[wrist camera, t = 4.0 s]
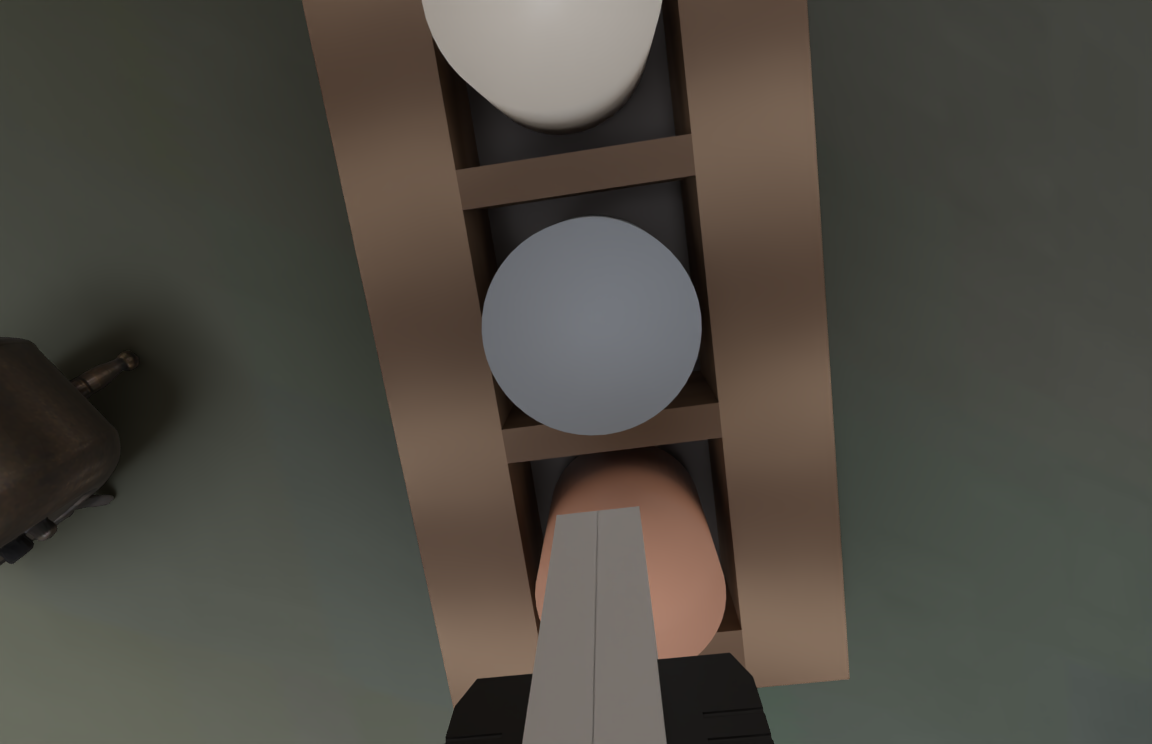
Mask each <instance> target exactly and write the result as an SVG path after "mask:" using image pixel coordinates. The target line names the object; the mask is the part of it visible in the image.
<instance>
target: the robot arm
mask: <svg viewBox="0 0 1152 744" xmlns="http://www.w3.org/2000/svg"><path fill="white" fill-rule="evenodd" d="M446 744H774V742H773V740H772V738H771V732H770V729H769V726H768V723H767V720H766V716H765V713H764V712H763V707H762V703H761V700H760V697H759V694H758V691H757V687H756V684H755V681H754V678H753V676H752V675H751V674H750V673H749V672H748V671H747V670H746V669H745V668H744V667H743V666H742V665H741V664H740V662H739V661H738V660H737V659H736V658H735V657H734V656H733V655H732V654H731V653H719V654H709V655H698V656H687V657H677V658H666V659H658V652H657V644H656V636H655V628H654V620H653V612H652V604H651V596H650V588H649V580H648V572H647V564H646V556H645V548H644V540H643V532H642V524H641V516H640V508H639V506H636V507H627V508H618V509H609V510H599V511H590V512H581V513H572V514H563V515H557V516H556V523H555V530H554V536H553V543H552V550H551V556H550V563H549V569H548V576H547V583H546V589H545V596H544V603H543V609H542V616H541V622H540V629H539V636H538V642H537V649H536V655H535V662H534V669H533V674H523V675H512V676H501V677H490V678H480V679H476V681H475V682H474V683H473V684H472V686H471V687H470V688H469V689H468V691H467V692H466V693H465V694H464V696H463V697H462V698H461V699H460V700H459V702H458V703H457V704H456V705H455V707H454V711H453V714H452V718H451V721H450V724H449V728H448V731H447V734H446Z"/></svg>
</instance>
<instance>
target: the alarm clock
mask: <svg viewBox="0 0 1152 744" xmlns="http://www.w3.org/2000/svg"><path fill="white" fill-rule="evenodd" d="M138 364H139V358H138V356H136V355H135V354H133V353H132V352H131V351H123V352H122V353H121V354H120V355H119V356H118V357H117V358H116V359H115V360H112V361H110V362H107V363H104V364H100V365H97V366H96V367H94V368H92V369H90V370H88V371H86V372H85V373H83V374H81V375H79V376H78V377H76V378H75V379H73V380H71V381H69V380H68V379H67V378H66V377H65V376H64V375H63V374H62V373H61V372H60V371H59V370H58V369H57V368H56V367H55V366H54V365H53V364H52V363H51V362H50V361H49V360H48V359H47V358H46V357H45V356H44V354H43V353H42V352H41V351H40V350H39V349H38V348H37V346H36V345H35V344H34V343H32V342H31V341H29V340H25V339H19V338H11V337H0V565H1V564H3V563H4V562H5V561H7V562H8V563H10V564H14V563H15V562H16V561H17V560H18V559H20V558H21V557H23V556H24V555H25V554H26V553H27V552H29V551H30V550H31V549H32V548H33V545H34V543H33V540H35V539H37V540H38V541H44V540H46V539H48V538H51V537H52V536H53V535H54V534H55V533H56V531H57V529H58V528H57V525H58V524H59V523H60V522H62V521H63V520H64V519H66V518H67V517H70V516H71V515H72V514H73V512H74V510H76V509H80V508H84V507H96V506H100V505H106V504H108V503H110V502H111V501H112V500H113V499H114V497H113V496H112V495H93V493H95V492H96V491H97V490H98V489H99V488H100V487H101V486H102V485H103V484H104V483H105V482H106V481H107V480H108V478H109V477H110V476H111V475H112V473H113V471H114V469H115V467H116V465H117V463H118V461H119V458H120V453H121V447H120V439H119V434H118V431H117V430H116V429H115V428H114V427H113V426H112V425H111V424H110V423H109V422H108V421H107V420H106V419H105V418H104V417H103V415H102V414H101V413H100V412H99V411H98V410H97V409H96V408H95V407H94V406H93V405H92V404H91V403H90V402H89V401H88V400H87V398H89V397H90V396H91V395H92V394H94V393H96V392H97V391H99V390H100V389H102V388H104V387H105V386H106V385H107V384H109V383H110V382H111V381H112V380H113V379H114V378H115V377H116V376H117V375H118V374H119V373H120V372H121V371H123V370H126V371H130V370H133V369H134V368H136V367H137V366H138Z"/></svg>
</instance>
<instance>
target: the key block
mask: <svg viewBox="0 0 1152 744" xmlns="http://www.w3.org/2000/svg"><path fill="white" fill-rule="evenodd" d="M302 4H303V8H304V13H305V18H306V22H307V27H308V31H309V36H310V41H311V45H312V50H313V55H314V59H315V64H316V69H317V73H318V78H319V83H320V87H321V92H322V97H323V101H324V106H325V111H326V115H327V120H328V125H329V129H330V134H331V139H332V143H333V148H334V153H335V157H336V162H337V167H338V171H339V176H340V181H341V185H342V190H343V195H344V199H345V204H346V209H347V213H348V218H349V223H350V227H351V232H352V237H353V241H354V246H355V251H356V255H357V260H358V265H359V269H360V274H361V279H362V283H363V288H364V293H365V297H366V302H367V307H368V311H369V316H370V321H371V325H372V330H373V335H374V339H375V344H376V349H377V353H378V358H379V363H380V367H381V372H382V377H383V381H384V386H385V391H386V395H387V400H388V405H389V409H390V414H391V418H392V423H393V428H394V432H395V437H396V442H397V446H398V451H399V456H400V460H401V465H402V470H403V474H404V479H405V484H406V488H407V493H408V498H409V502H410V507H411V512H412V516H413V521H414V526H415V530H416V535H417V540H418V544H419V549H420V554H421V558H422V563H423V568H424V572H425V577H426V582H427V586H428V591H429V596H430V600H431V605H432V610H433V614H434V619H435V624H436V628H437V633H438V638H439V642H440V647H441V652H442V656H443V661H444V666H445V670H446V675H447V680H448V684H449V689H450V694H451V698H452V703H453V708H454V707H455V705H456V704H457V703H458V702H459V700H460V699H461V698H462V697H463V696H464V694H465V693H466V692H467V691H468V689H469V688H470V687H471V686H472V684H473V683H474V682H475V681H476V679H480V678H490V677H501V676H512V675H523V674H533V669H534V662H535V655H536V649H537V642H538V636H539V629H540V622H541V621H540V619H539V615H538V611H537V607H536V599H535V588H536V580H537V575H538V569H539V564H540V559H541V554H542V548H543V543H544V538H545V532H546V527H547V522H548V517H549V511H550V506H551V501H552V495H553V492H554V489H555V486H556V483H557V481H558V479H559V477H560V476H561V474H562V473H563V471H564V470H565V468H566V467H567V466H568V465H569V464H570V463H571V462H572V461H573V460H574V459H576V458H577V457H578V456H579V455H582V454H590V453H599V452H607V451H615V450H623V449H632V448H640V447H648V446H655V447H657V448H659V449H661V450H664V451H665V452H667V453H668V454H670V455H671V456H673V457H674V458H675V459H676V460H678V461H679V462H680V463H681V464H682V466H683V467H684V468H685V469H686V470H687V472H688V473H689V475H690V476H691V478H692V480H693V482H694V484H695V486H696V489H697V492H698V495H699V498H700V501H701V504H702V508H703V511H704V514H705V517H706V520H707V524H708V527H709V530H710V533H711V536H712V540H713V543H714V546H715V549H716V552H717V555H718V559H719V562H720V565H721V568H722V571H723V575H724V579H725V585H726V604H725V610H724V614H723V618H722V621H721V623H720V626H719V628H718V630H717V632H716V634H715V635H714V637H713V639H712V640H711V641H710V643H709V644H708V645H707V646H706V648H705V649H704V650H703V651H702V652H701V653H700V654H699V655H709V654H719V653H731V654H732V655H733V656H734V657H735V658H736V659H737V660H738V661H739V662H740V664H741V665H742V666H743V667H744V668H745V669H746V670H747V671H748V672H749V673H750V674H751V675H752V676H753V678H754V681H755V684H756V687H757V688H759V687H770V686H781V685H791V684H802V683H813V682H823V681H834V680H845V679H850V678H849V662H848V646H847V630H846V614H845V598H844V582H843V566H842V550H841V535H840V519H839V503H838V487H837V471H836V455H835V439H834V423H833V407H832V391H831V375H830V359H829V343H828V327H827V311H826V295H825V279H824V263H823V247H822V231H821V215H820V199H819V184H818V168H817V152H816V136H815V120H814V104H813V88H812V72H811V56H810V40H809V24H808V8H807V0H662V5H661V10H660V14H659V18H658V22H657V25H656V29H655V33H654V36H653V40H652V44H651V47H650V51H649V55H648V58H647V62H646V65H645V68H644V71H643V74H642V77H641V79H640V81H639V83H638V85H637V87H636V89H635V90H634V92H633V94H632V95H631V97H630V98H629V99H628V101H627V102H626V103H625V104H624V105H623V107H622V108H621V109H619V110H618V111H617V112H616V113H615V114H614V115H613V116H612V117H610V118H609V119H607V120H606V121H605V122H603V123H601V124H599V125H597V126H595V127H594V128H591V129H588V130H586V131H583V132H578V133H574V134H566V135H551V134H544V133H539V132H535V131H533V130H530V129H527V128H525V127H523V126H521V125H519V124H517V123H515V122H514V121H512V120H511V119H509V118H508V117H506V116H505V115H504V114H503V113H502V112H501V111H499V110H498V109H497V108H496V107H495V106H494V105H492V104H491V103H490V102H489V101H488V100H487V99H486V98H484V97H483V96H482V95H481V94H480V93H479V92H477V91H476V90H475V89H474V88H473V87H472V86H471V85H469V84H468V83H467V82H466V81H465V80H464V79H463V78H462V77H460V76H459V74H458V73H457V72H456V71H455V70H454V69H453V68H452V66H451V65H450V64H449V63H448V61H447V60H446V58H445V57H444V55H443V54H442V53H441V51H440V50H439V48H438V46H437V44H436V42H435V40H434V38H433V36H432V34H431V31H430V28H429V25H428V23H427V20H426V17H425V12H424V8H423V4H422V0H302ZM586 215H606V216H611V217H617V218H620V219H623V220H626V221H628V222H630V223H632V224H634V225H636V226H638V227H639V228H641V229H642V230H644V231H645V232H647V233H648V234H650V235H651V236H653V237H654V238H655V239H657V240H658V241H660V242H661V243H662V244H663V245H664V246H665V247H666V248H667V249H669V250H670V251H671V252H672V254H673V255H674V256H675V257H676V258H677V259H678V261H679V262H680V263H681V265H682V266H683V268H684V269H685V271H686V272H687V274H688V276H689V278H690V280H691V282H692V284H693V286H694V288H695V292H696V295H697V298H698V301H699V306H700V312H701V325H702V332H701V343H700V348H699V352H698V357H697V360H696V363H695V365H694V368H693V370H692V373H691V375H690V376H689V378H688V380H687V382H686V384H685V385H684V387H683V388H682V389H681V391H680V392H679V394H678V395H677V396H676V397H675V398H674V399H673V400H672V401H671V403H670V404H669V405H668V406H667V407H665V408H664V409H663V410H662V411H661V412H659V413H658V414H657V415H655V416H654V417H652V418H651V419H649V420H647V421H646V422H644V423H642V424H640V425H637V426H635V427H633V428H630V429H627V430H624V431H621V432H617V433H612V434H606V435H578V434H572V433H567V432H563V431H560V430H557V429H554V428H551V427H549V426H546V425H544V424H542V423H540V422H538V421H536V420H535V419H533V418H532V417H530V416H529V415H527V414H526V413H524V412H523V411H522V410H521V409H520V408H518V407H517V406H516V405H515V404H514V403H513V402H512V401H511V400H510V399H509V398H508V396H507V395H506V394H505V393H504V391H503V390H502V389H501V387H500V386H499V384H498V383H497V381H496V379H495V377H494V375H493V374H492V372H491V369H490V366H489V364H488V361H487V359H486V354H485V350H484V346H483V339H482V314H483V307H484V302H485V299H486V295H487V292H488V289H489V287H490V284H491V282H492V280H493V278H494V276H495V274H496V272H497V271H498V269H499V268H500V266H501V264H502V263H503V262H504V261H505V259H506V258H507V257H508V256H509V255H510V253H511V252H512V251H513V250H514V249H516V248H517V247H518V246H519V245H520V244H521V243H522V242H524V241H525V240H526V239H528V238H529V237H531V236H532V235H533V234H535V233H537V232H539V231H541V230H543V229H545V228H547V227H550V226H552V225H555V224H557V223H560V222H563V221H566V220H568V219H571V218H575V217H579V216H586ZM697 656H698V655H697Z"/></svg>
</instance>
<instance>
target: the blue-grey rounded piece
mask: <svg viewBox="0 0 1152 744" xmlns="http://www.w3.org/2000/svg"><path fill="white" fill-rule="evenodd" d="M701 332H702V325H701V312H700V306H699V301H698V298H697V295H696V292H695V288H694V286H693V284H692V282H691V280H690V278H689V276H688V274H687V272H686V271H685V269H684V268H683V266H682V265H681V263H680V262H679V261H678V259H677V258H676V257H675V256H674V255H673V254H672V252H671V251H670V250H669V249H667V248H666V247H665V246H664V245H663V244H662V243H661V242H660V241H658V240H657V239H655V238H654V237H653V236H651V235H650V234H648V233H647V232H645V231H644V230H642V229H641V228H639V227H638V226H636V225H634V224H632V223H630V222H628V221H626V220H623V219H620V218H617V217H611V216H606V215H586V216H579V217H575V218H571V219H568V220H566V221H563V222H560V223H557V224H555V225H552V226H550V227H547V228H545V229H543V230H541V231H539V232H537V233H535V234H533V235H532V236H531V237H529V238H528V239H526V240H525V241H524V242H522V243H521V244H520V245H519V246H518V247H517V248H516V249H514V250H513V251H512V252H511V253H510V255H509V256H508V257H507V258H506V259H505V261H504V262H503V263H502V264H501V266H500V268H499V269H498V271H497V272H496V274H495V276H494V278H493V280H492V282H491V284H490V287H489V289H488V292H487V295H486V299H485V302H484V307H483V314H482V339H483V346H484V350H485V354H486V359H487V361H488V364H489V366H490V369H491V372H492V374H493V375H494V377H495V379H496V381H497V383H498V384H499V386H500V387H501V389H502V390H503V391H504V393H505V394H506V395H507V396H508V398H509V399H510V400H511V401H512V402H513V403H514V404H515V405H516V406H517V407H518V408H520V409H521V410H522V411H523V412H524V413H526V414H527V415H529V416H530V417H532V418H533V419H535V420H536V421H538V422H540V423H542V424H544V425H546V426H549V427H551V428H554V429H557V430H560V431H563V432H567V433H572V434H578V435H606V434H612V433H617V432H621V431H624V430H627V429H630V428H633V427H635V426H637V425H640V424H642V423H644V422H646V421H647V420H649V419H651V418H652V417H654V416H655V415H657V414H658V413H659V412H661V411H662V410H663V409H664V408H665V407H667V406H668V405H669V404H670V403H671V401H672V400H673V399H674V398H675V397H676V396H677V395H678V394H679V392H680V391H681V389H682V388H683V387H684V385H685V384H686V382H687V380H688V378H689V376H690V375H691V373H692V370H693V368H694V365H695V363H696V360H697V357H698V352H699V348H700V343H701Z"/></svg>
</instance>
